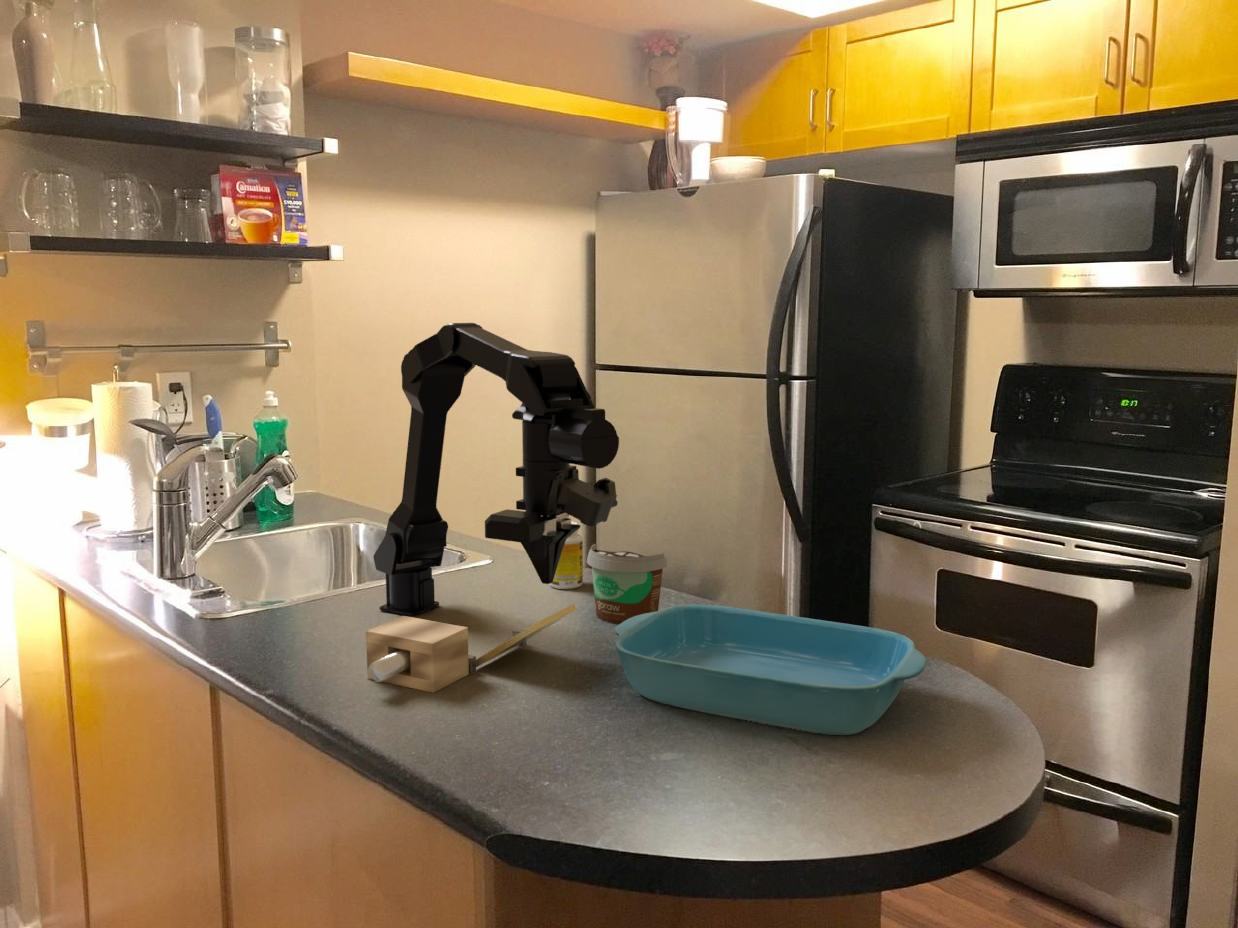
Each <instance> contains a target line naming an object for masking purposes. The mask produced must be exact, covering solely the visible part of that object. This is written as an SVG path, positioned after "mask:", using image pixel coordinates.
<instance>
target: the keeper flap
mask: <svg viewBox="0 0 1238 928" xmlns="http://www.w3.org/2000/svg"><path fill="white" fill-rule="evenodd" d="M576 610H577V607H576V605H575V604H574V603H573V604H570V605H568V606H566V607H565V608H562V609H560V610H558V611H557V612H554V613H552V614H551V615H548V616H547V617H545V618H542V619H540V620H539V621H537V622H535V623H533V624H531V625H529V626H528V627H526V628H524V629H522V630H523V631H521V632H520V633H518V634H517V635H515V636H513V635H512V637H510V638H508V639H507V640H506V641H504V642H502V643H501V644H499V645H497V646H496V647H494V648H493V649H491V650H490V651H488V652H486V653H485V654H483V655H482V656H480V657H478V658H476V668H478V667H480V666H482V665H484V664H486V663H488V662H489V661H492V660H493V659H496V658H497V657H499V656H501V655H503V654H505V653H507V652H509V651H510V650H513V649H514V648H516V647H519V646H518V645H520V644H521V643H523V642H525V641H526V640H527V641H528V640H530V639H531V638H533V637H534V636H536V635H538V634H539V633H540V632H543V630H545V629H547V628H549V627H551V626H552V625H554V624H555V623H557V622H559V621H560V620H562V619H563V618H565V617H567V616H568V615H570V614H571V613H573V612H575V611H576Z"/></svg>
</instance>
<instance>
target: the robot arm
mask: <svg viewBox="0 0 1238 928" xmlns="http://www.w3.org/2000/svg"><path fill="white" fill-rule="evenodd" d="M476 366H477V367H479V368H481V369H482V370H483V369H484V370H486V372H488V373H491V374H493V375H495V376H497V377H499V378H501V380H503V381H504V382H505V386H506V390H507V391H508V393H510V394H511V395H512V396H513V397H515V398H516V399H517V400H518V401H519V402H521V404H520V405H519V407H517V408H516V409H515V410H514V412H513V413H512V414H511V417H512V418H513V420H519V421H522V423H521V424H522V425H521V426H522V441H521V443H522V465H521V466H517V467H515V476H516V477H520V478H521V477H522V499H519V500H516V501H515V503H516V505H515V508H516V509H515V510H514V509H505V510H501V511H498V512H494V513H491V514H490V515H489V516H488V517H487V518H486V519H485V520H484V537H485V539H490V540H499V541H505V542H515V543H520V544H521V546H522V547H523V549H524V550H525V552H526V554H527V556H528V558H529V560H530V561H531V564H532V566H533V567H534V569H535V571H536V574H537V576H538V578H539V580H540V582H541V584H545V585H549V584H550V583H552V582H553V579H554V576H555V572H556V569H557V566H558V562H559V559H560V556H561V553H562V550H563V547H564V544H565V541H566V539H567V538H568V537H569V536H570V535H572V534H573V533H574V532H575V531H576V530H578V531H579V530H580V528H581V526H582V525H581V524H583V525H585V526H588V527H595V526H597V525H598V524H599V523H601V522H602V523H605V522H607V521H608V518H609V516H610V512H611V510H612V508H614V507H617V506H618V501H617V497H618V495H617V490H616V483H615V481H614V480H611V479H609V478H608V477H603V478H600V479H598V480H597V481H596V482H595V483H593V481H592V482H591V481H588V482H586V481H583V480H580V478H579V475H580V473H579V469H578V468H577V466H581V467H586V468H587V467H588V468H592V469H597V470H598V469H603V468H606V467H608V466H609V465H610V464H611V463H613V461H614V459H615V458H616V455H617V453H618V451H619V447H620V437H619V436H618V433H617V430H616V428H615V426H614V425H613V423H612V422H610V421H609V420H607V419H606V410H605V409H604V408H597V407H596V408H595V405H594V403H593V401H592V396H591V395H590V393H589V392H588V390H587V388H586V386H585V384H584V382H583V379H582V377H581V375H580V372H579V371H578V368H577V367H576V362H575V361H574V360H573V358H572V357H571V356H569V355H568V354H563V353H557V352H551V351H541V350H530V349H527V348H525V347H523V346H520V345H518V344H516V343H514V342H511V341H510V340H508V339H505V338H503V337H501V336H499V335H497V334H495V333H492V332H490V331H488V330H487V329H485V328H483V327H482V326H481V325H480V324H477V323H475V322H449V323H447V324H445V325H443V326H442V327H441V328H440V329H439V331H437V333H435V334H433V335H431V336H429V337H428V338H425V339H424V340H422V341H420V342H418V343H417V344H415V345H414V346H413V348H412V349H410V350H409V351H408V352H407V353H405V354H404V356H403V358H402V361H401V366H400V373H401V388H402V391H403V394H404V395H405V396H406V399H407V401H408V402H409V405H410V406H411V407H410V410H411V411H410V419H409V431H408V439H407V447H406V456H405V458H406V459H405V467H404V478H403V486H402V487H403V488H402V495H401V496H402V497H401V502H400V503H399V504H398V506H397V507H396V509H395V510H394V511H393V512H392V514H391V515H390V516H389V518H388V521H387V527H386V530H385V534H384V537H383V539H382V541H381V542H380V544H379V545H378V547H377V548H376V551H375V552H374V554H373V556H372V557H373V562H374V567H375V569H376V571H379V572H381V573H384V574H385V597H386V599H385V600H386V603H385V604H383V605H381V606H379V611H383V612H390V613H395V614H401V615H404V616H409V617H413V616H416V615H419V614H421V613H423V612H427V611H429V610H431V609H433V608H434V609H435V608H436V607H438V606H440V601H436V599H435V579H434V578H433V568H435V567H437V568H439V567H441V566H442V563H443V562H442V561H443V556H444V552H445V547H447V544H448V543H447V534H448V529H449V524H448V522H447V521H446V520H444V519H443V517H442V516H441V513H440V511H439V510H438V508H437V507H438V506H437V503H438V493H439V487H440V485H439V484H440V476H441V467H442V460H443V459H442V458H443V451H444V444H445V442H444V441H445V434H446V425H447V416H448V412H449V411H450V410H451V408H452V407H453V406H454V404H455V403H456V402H457V400H458V399H459V398H460V396H461V394H462V391H463V390H462V389H463V387H464V382H465V378H466V376H467V375H468V374H469V373H470V372H471V371H472V370H473V369H474V368H475V367H476ZM570 517H573V518H574V519H576V520H578V521H579V522H580V524H578V525H576V524H571V522H572V518H570Z"/></svg>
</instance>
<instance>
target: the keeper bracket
mask: <svg viewBox="0 0 1238 928" xmlns="http://www.w3.org/2000/svg"><path fill="white" fill-rule="evenodd" d="M523 630H524V629H521V628H515V629H513V630H512V637H513V636H515V635H517V634H518V633H520V632H521V631H523ZM527 645H528V640H526V641H525V642H523V643H521V644H520V645H518V646H517V647H521V648H524V647H525V646H527ZM476 660H477V655H473V654H468V665H469V674H468V675H473V674H475V673H477V667H476Z"/></svg>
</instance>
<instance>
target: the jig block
mask: <svg viewBox="0 0 1238 928" xmlns="http://www.w3.org/2000/svg"><path fill="white" fill-rule="evenodd" d="M468 629H469V628H468V626H463V625H462V626H461V625H456V624H450V623H446V622H441V621H440V622H439V621H433V620H429V619H423V618H419V617H418V618H417V617H413V616H408V615H402V616H398V617H397V618H394V619H392V620H389V621H386V622H385V623H382V624H380V625H377V626H375V627H372V628H370V629H368V630H366V631H365V641H366V642H365V643H366V644H365V645H366V666H367V667H366V670H367V672H366V673H367V674H366V675H367V679H369V680H373V679H372V678H371V676H370V673H369V666H370V664H371V663H372V662H375V661H377V660H379V659H381V658H383V657H386V656H388V655H390V654H392V653H395V652H397V651H399V650H401V649H404V650H409V651H410V660H411V667H410V668H408V669H406V670H404V671H402V672H400V673H397V674H395V675H393V676H391V677H389V678H387V679H385V680H383V681H381V682H384V683H388V684H392V685H396V686H397V685H398V686H401V687H405V688H411V689H415V690H419V691H423V692H429V693H432V694H433V693H436V692H437V691H438V692H439V690H441V689H443V688H445V687H447V686H449V685H451V684H453V683H454V682H456V681H458V680H461V679H462V678H464V677H466V676H468V675H470V674H469V665H468V655H469V630H468Z"/></svg>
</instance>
